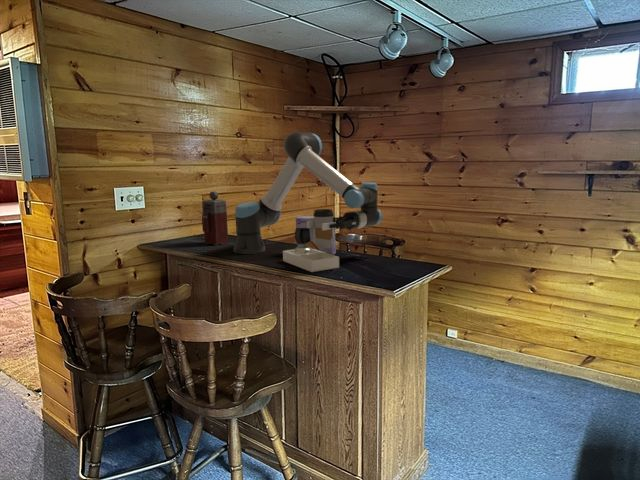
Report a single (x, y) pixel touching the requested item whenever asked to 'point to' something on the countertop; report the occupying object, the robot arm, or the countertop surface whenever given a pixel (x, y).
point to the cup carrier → (312, 260)
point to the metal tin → (302, 250)
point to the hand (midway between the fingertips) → (315, 225)
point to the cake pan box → (310, 235)
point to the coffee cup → (321, 236)
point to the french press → (214, 220)
